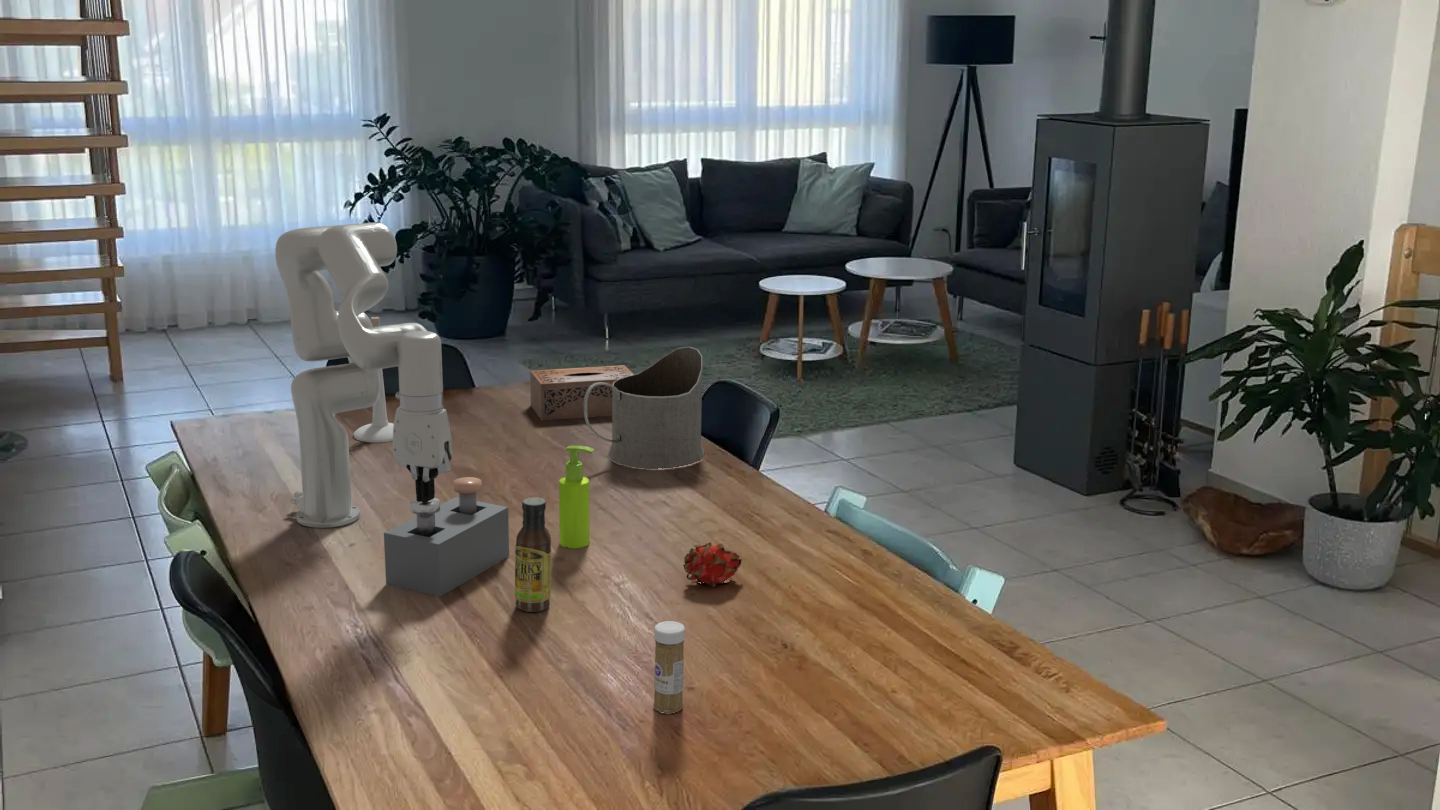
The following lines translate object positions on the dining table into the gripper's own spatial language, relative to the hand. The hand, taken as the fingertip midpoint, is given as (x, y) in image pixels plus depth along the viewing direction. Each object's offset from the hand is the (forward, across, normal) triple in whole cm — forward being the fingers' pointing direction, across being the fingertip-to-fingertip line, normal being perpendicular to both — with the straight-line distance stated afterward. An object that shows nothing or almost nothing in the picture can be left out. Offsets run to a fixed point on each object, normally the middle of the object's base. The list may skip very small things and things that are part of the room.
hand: (425, 499), depth 248 cm
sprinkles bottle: (+17, +61, -22) cm, 67 cm away
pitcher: (+16, -1, +85) cm, 86 cm away
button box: (+16, 0, +7) cm, 17 cm away
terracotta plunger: (+8, 0, +13) cm, 15 cm away
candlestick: (+15, -66, +70) cm, 97 cm away
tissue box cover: (+16, -34, +114) cm, 120 cm away
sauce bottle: (+16, +23, 0) cm, 28 cm away
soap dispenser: (+16, +14, +30) cm, 36 cm away
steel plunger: (+8, 0, 0) cm, 8 cm away
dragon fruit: (+16, +46, +25) cm, 54 cm away
